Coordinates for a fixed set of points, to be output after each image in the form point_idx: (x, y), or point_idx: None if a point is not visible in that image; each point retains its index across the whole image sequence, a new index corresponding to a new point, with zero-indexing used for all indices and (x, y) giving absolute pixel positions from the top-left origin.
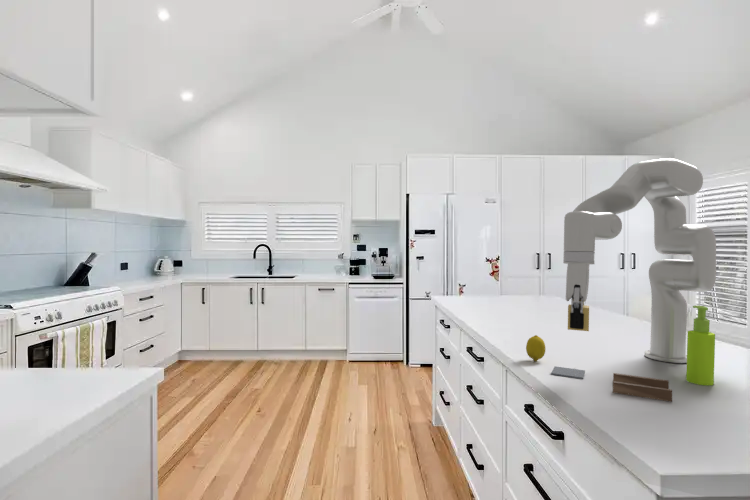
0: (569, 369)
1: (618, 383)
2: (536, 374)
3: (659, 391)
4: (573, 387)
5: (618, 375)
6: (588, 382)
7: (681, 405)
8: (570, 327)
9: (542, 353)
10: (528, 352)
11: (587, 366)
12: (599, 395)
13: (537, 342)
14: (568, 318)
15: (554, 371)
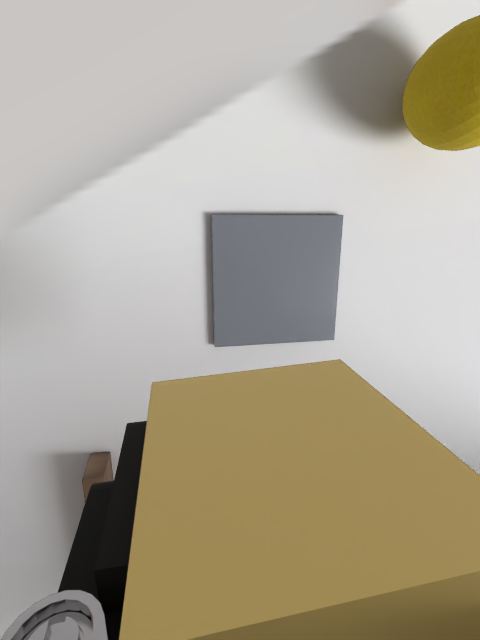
0: (317, 281)
1: (85, 495)
2: (173, 148)
3: None
4: (62, 327)
5: None
6: (179, 367)
7: None
8: (129, 424)
9: (422, 139)
10: (425, 52)
11: (421, 335)
12: (18, 422)
13: (465, 87)
14: (143, 460)
15: (248, 226)
